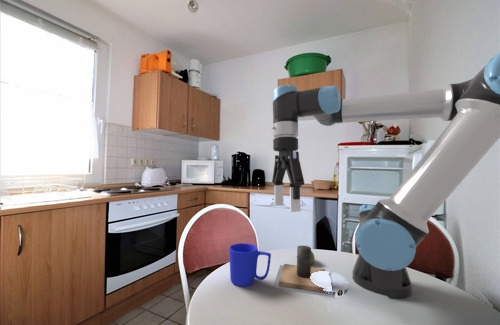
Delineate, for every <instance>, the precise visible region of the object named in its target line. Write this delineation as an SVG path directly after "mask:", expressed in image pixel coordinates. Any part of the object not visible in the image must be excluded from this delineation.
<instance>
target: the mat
mask: <svg viewBox="0 0 500 325" xmlns="http://www.w3.org/2000/svg"><path fill="white" fill-rule="evenodd" d="M283 266H284V264H283V265H282V264H280V265H279V268H278V271H277V273H276V277H275V279H274V282H273V286H272V288H274V289H278V290H279V289H280V290H284V291H285V290H286V291H291V292H297V293H303V294H309V295H317V296H322V297H326V298H327V297H328V298H334V299H335V294H334V295H331V294H327V293H321V292H315V291H309V290H303V289H296V288H290V287H284V286H279V280H280V276H281V273H282V270H283Z"/></svg>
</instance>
